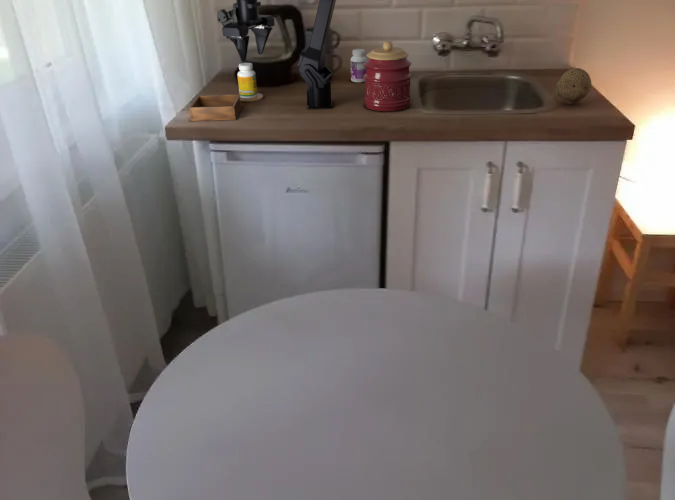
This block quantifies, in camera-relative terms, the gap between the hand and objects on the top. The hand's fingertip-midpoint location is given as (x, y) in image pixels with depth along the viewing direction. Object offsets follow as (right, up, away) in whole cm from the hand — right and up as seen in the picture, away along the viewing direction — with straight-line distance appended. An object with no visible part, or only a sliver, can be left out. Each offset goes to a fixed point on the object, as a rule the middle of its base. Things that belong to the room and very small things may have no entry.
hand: (252, 57), depth 178 cm
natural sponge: (+89, -15, -4) cm, 90 cm away
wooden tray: (-10, -16, -2) cm, 19 cm away
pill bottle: (+31, 0, +25) cm, 40 cm away
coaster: (-3, -9, +11) cm, 14 cm away
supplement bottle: (-2, -9, +11) cm, 14 cm away
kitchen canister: (+38, -14, 0) cm, 41 cm away
